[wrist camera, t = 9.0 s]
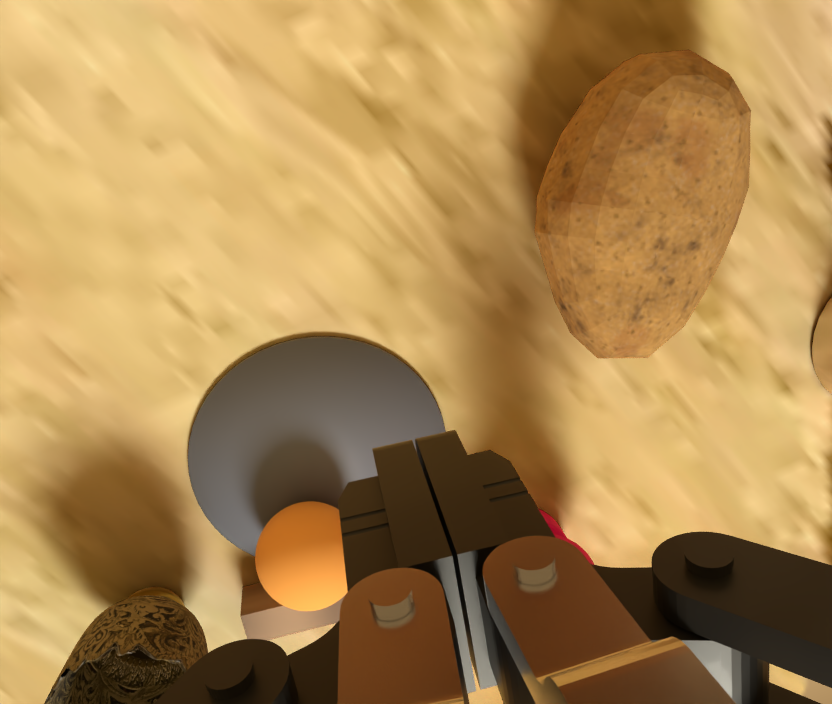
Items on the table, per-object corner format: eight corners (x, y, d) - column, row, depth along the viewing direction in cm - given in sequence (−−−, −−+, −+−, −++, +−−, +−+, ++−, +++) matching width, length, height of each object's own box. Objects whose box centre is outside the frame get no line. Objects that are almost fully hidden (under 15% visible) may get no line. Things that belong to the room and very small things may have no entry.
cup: (58, 584, 39) (7, 697, 32) (186, 532, 40) (164, 632, 32) (124, 680, 42) (91, 804, 35) (243, 630, 42) (235, 743, 35)
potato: (487, 321, 39) (536, 374, 31) (538, 40, 34) (610, 24, 27) (651, 336, 41) (734, 390, 33) (719, 73, 37) (831, 67, 29)
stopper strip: (445, 538, 43) (454, 563, 40) (449, 565, 43) (459, 591, 41) (242, 587, 41) (240, 616, 39) (251, 614, 42) (249, 644, 40)
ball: (344, 469, 40) (355, 538, 35) (365, 544, 42) (378, 618, 37) (243, 495, 39) (239, 568, 34) (271, 569, 42) (271, 647, 37)
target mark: (425, 312, 38) (426, 312, 38) (461, 534, 43) (462, 535, 43) (156, 367, 36) (155, 369, 36) (225, 591, 41) (225, 593, 41)
